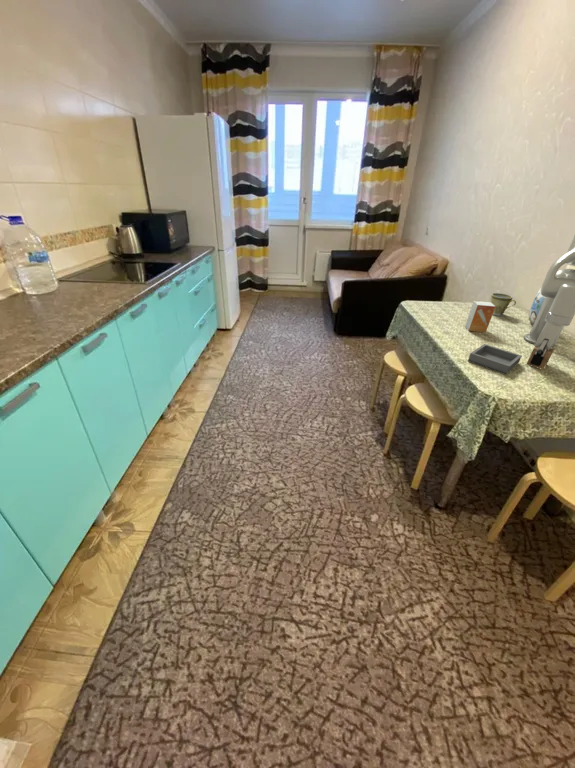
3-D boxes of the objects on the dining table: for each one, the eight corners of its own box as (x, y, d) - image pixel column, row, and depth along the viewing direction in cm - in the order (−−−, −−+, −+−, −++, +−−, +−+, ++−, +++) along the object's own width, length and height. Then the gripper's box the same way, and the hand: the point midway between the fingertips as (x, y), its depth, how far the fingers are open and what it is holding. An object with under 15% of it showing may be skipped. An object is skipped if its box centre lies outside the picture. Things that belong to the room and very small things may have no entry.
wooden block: (530, 360, 133) (537, 344, 129) (546, 365, 129) (554, 349, 126) (526, 364, 130) (533, 348, 126) (542, 369, 126) (550, 353, 123)
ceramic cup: (481, 311, 183) (487, 294, 178) (492, 309, 187) (499, 292, 182) (503, 319, 173) (511, 300, 168) (515, 316, 178) (522, 298, 172)
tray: (481, 351, 138) (484, 343, 136) (518, 363, 130) (521, 355, 128) (467, 361, 130) (470, 353, 128) (505, 374, 121) (509, 366, 120)
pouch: (539, 323, 170) (557, 284, 160) (546, 335, 156) (566, 294, 145) (522, 320, 173) (538, 282, 163) (526, 332, 158) (545, 291, 148)
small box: (468, 331, 158) (477, 304, 151) (464, 326, 163) (473, 300, 156) (486, 332, 157) (496, 306, 150) (481, 327, 162) (491, 302, 155)
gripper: (552, 311, 127) (533, 352, 136) (539, 320, 117) (520, 364, 126) (576, 316, 122) (554, 358, 132) (565, 327, 112) (542, 372, 121)
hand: (537, 361), depth 129 cm, fingers open, 7 cm apart
